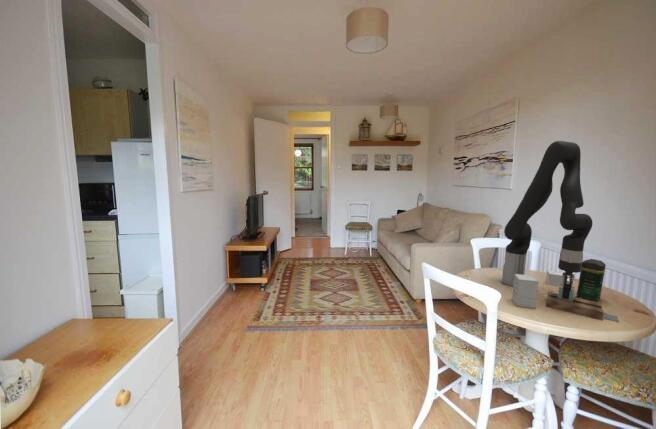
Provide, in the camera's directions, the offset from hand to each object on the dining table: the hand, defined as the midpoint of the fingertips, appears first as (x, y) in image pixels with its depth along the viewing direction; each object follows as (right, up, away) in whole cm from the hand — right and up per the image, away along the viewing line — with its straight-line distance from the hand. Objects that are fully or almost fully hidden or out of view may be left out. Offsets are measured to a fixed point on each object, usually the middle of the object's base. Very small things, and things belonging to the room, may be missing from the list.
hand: (565, 297), depth 123 cm
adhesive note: (+17, -1, +27) cm, 32 cm away
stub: (0, -4, +1) cm, 4 cm away
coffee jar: (+19, -3, +10) cm, 21 cm away
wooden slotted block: (+2, -4, -1) cm, 5 cm away
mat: (+11, -6, -9) cm, 15 cm away
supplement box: (-17, -4, +3) cm, 17 cm away
